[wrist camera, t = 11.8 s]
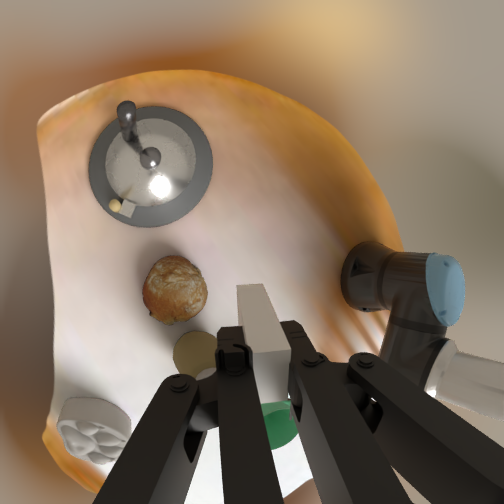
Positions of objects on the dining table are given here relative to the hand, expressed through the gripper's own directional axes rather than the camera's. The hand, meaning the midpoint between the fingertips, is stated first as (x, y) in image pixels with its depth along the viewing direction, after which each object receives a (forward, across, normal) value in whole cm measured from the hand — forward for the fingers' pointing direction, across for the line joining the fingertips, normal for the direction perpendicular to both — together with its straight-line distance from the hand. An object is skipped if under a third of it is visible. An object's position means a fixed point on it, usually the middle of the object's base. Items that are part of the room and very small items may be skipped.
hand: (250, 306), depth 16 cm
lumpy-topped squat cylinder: (+16, -27, -31) cm, 45 cm away
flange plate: (+27, -12, +10) cm, 31 cm away
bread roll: (+26, -10, -9) cm, 29 cm away
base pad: (+29, -12, +11) cm, 33 cm away
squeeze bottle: (+24, -7, -19) cm, 32 cm away
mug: (+25, +5, -34) cm, 42 cm away
